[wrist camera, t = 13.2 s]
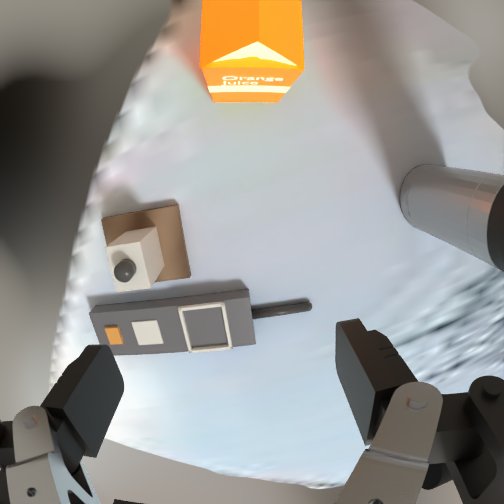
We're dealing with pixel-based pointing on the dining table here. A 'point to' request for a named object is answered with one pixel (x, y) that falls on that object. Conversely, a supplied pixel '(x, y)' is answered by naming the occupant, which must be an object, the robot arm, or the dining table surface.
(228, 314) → the grey panel with rod
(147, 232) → the plug
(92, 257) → the dining table surface
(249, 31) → the orange juice
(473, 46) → the dining table surface
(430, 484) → the dark cylindrical piece
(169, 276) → the walnut board
